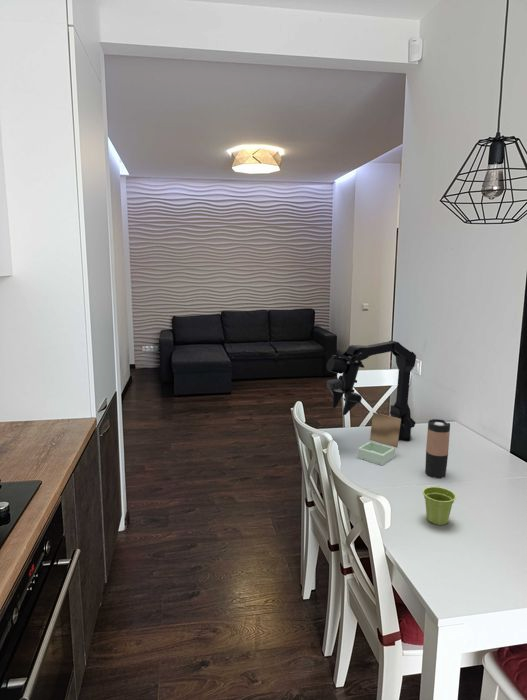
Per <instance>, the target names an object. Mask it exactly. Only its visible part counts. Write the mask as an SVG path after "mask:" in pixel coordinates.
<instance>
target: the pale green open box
mask: <svg viewBox="0 0 527 700" xmlns="http://www.w3.org/2000/svg"><path fill="white" fill-rule="evenodd" d="M395 453H396V447H393V446H389V445H386V444H382V443H379V442H375V441H372V440H369V441H367V443H365V444H363V445H361V446H359V447H358V448H357V457H358V458H357V459H360V458H361V460H363V459H364V461H367V462H370V463H373V464H377V465H379V466H384V465H385V464H387V463H389V462H390V461H392V460H393V459H395V455H396V454H395Z"/></svg>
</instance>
